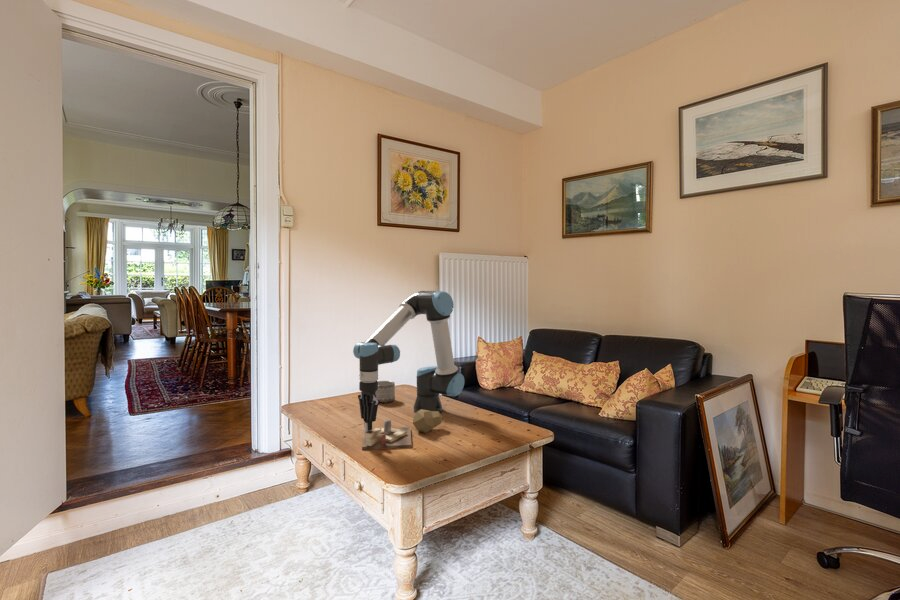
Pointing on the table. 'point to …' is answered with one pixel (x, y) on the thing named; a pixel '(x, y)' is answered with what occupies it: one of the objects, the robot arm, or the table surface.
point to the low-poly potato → (426, 420)
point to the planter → (385, 391)
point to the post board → (398, 443)
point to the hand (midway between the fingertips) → (368, 437)
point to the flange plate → (375, 434)
